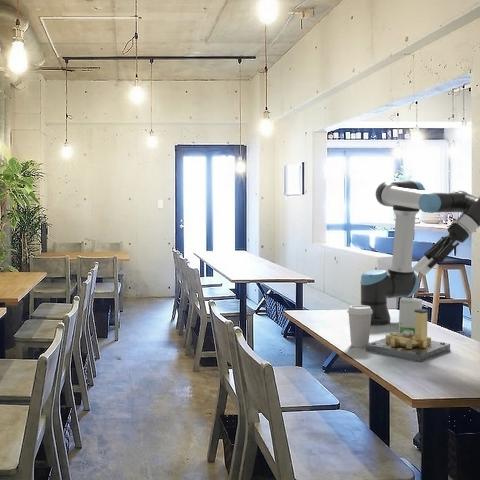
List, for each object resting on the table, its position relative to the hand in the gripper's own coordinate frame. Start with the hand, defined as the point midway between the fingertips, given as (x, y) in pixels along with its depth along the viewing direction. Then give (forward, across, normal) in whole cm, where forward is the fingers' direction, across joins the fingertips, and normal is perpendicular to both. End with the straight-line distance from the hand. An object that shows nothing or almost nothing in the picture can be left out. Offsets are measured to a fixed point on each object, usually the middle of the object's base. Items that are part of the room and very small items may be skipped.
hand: (418, 271), depth 218 cm
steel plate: (+24, -6, -17) cm, 30 cm away
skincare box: (+19, +17, -22) cm, 34 cm away
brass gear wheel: (+22, -6, -15) cm, 27 cm away
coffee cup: (+36, +2, -5) cm, 36 cm away
